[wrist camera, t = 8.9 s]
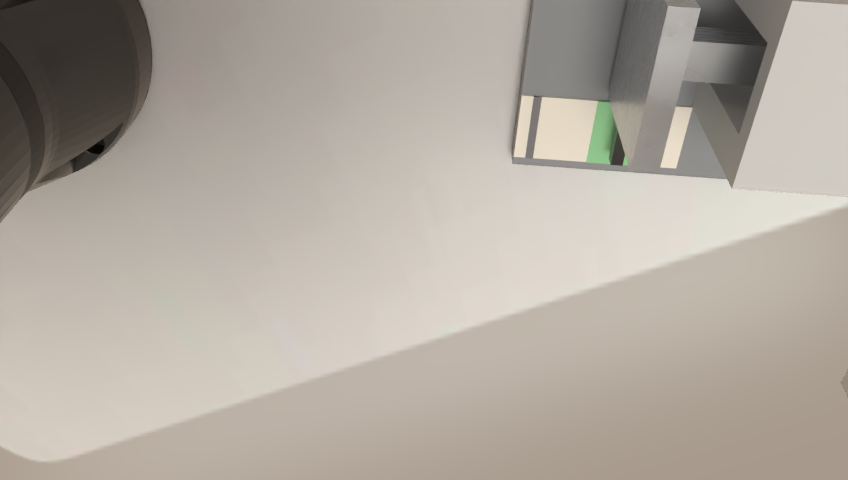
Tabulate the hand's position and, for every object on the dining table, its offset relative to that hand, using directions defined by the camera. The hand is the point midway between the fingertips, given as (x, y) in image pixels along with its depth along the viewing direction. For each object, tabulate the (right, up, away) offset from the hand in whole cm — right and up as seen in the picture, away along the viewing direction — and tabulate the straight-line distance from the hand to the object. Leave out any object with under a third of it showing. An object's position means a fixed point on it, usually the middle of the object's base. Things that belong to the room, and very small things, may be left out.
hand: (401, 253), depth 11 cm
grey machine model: (+15, +8, +27) cm, 32 cm away
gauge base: (+12, +10, +29) cm, 33 cm away
